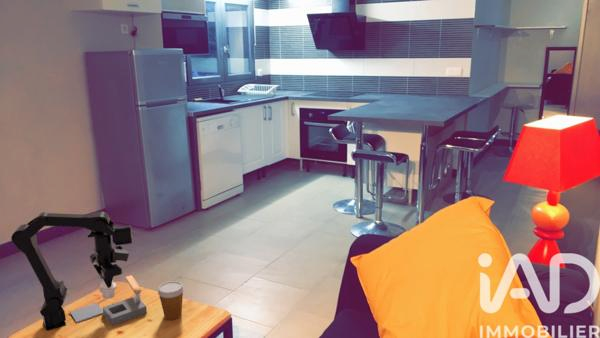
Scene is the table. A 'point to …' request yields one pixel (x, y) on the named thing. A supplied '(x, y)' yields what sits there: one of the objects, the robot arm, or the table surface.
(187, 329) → the table surface
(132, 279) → the light orange flat bar
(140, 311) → the socket base
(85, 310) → the mat
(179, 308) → the disposable coffee cup
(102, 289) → the plug
